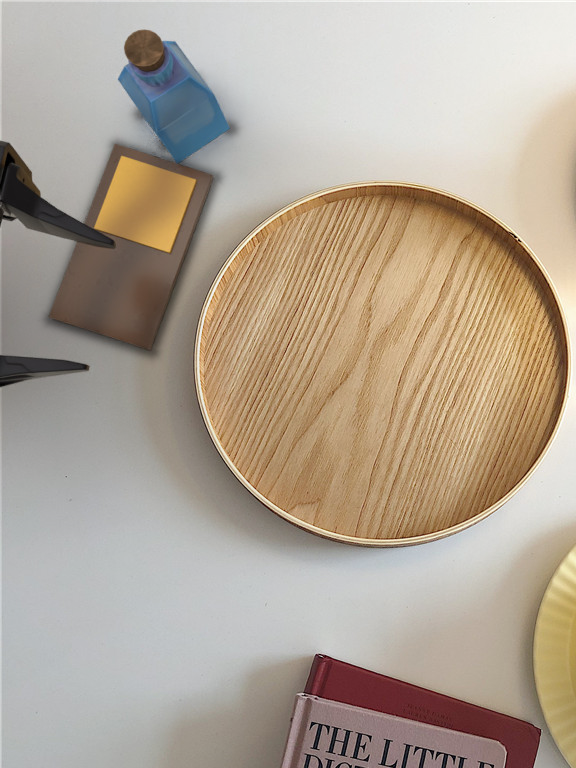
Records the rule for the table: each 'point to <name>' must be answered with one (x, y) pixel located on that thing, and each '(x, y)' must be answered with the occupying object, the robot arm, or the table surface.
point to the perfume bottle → (170, 94)
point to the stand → (132, 247)
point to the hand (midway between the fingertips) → (101, 305)
